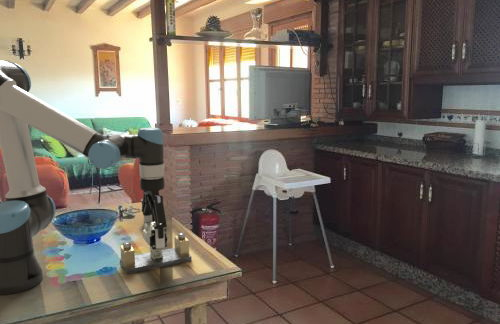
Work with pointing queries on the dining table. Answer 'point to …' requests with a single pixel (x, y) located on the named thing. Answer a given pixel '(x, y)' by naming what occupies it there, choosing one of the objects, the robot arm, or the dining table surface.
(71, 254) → the dining table surface
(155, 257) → the pneumatic valve
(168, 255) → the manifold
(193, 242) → the dining table surface
